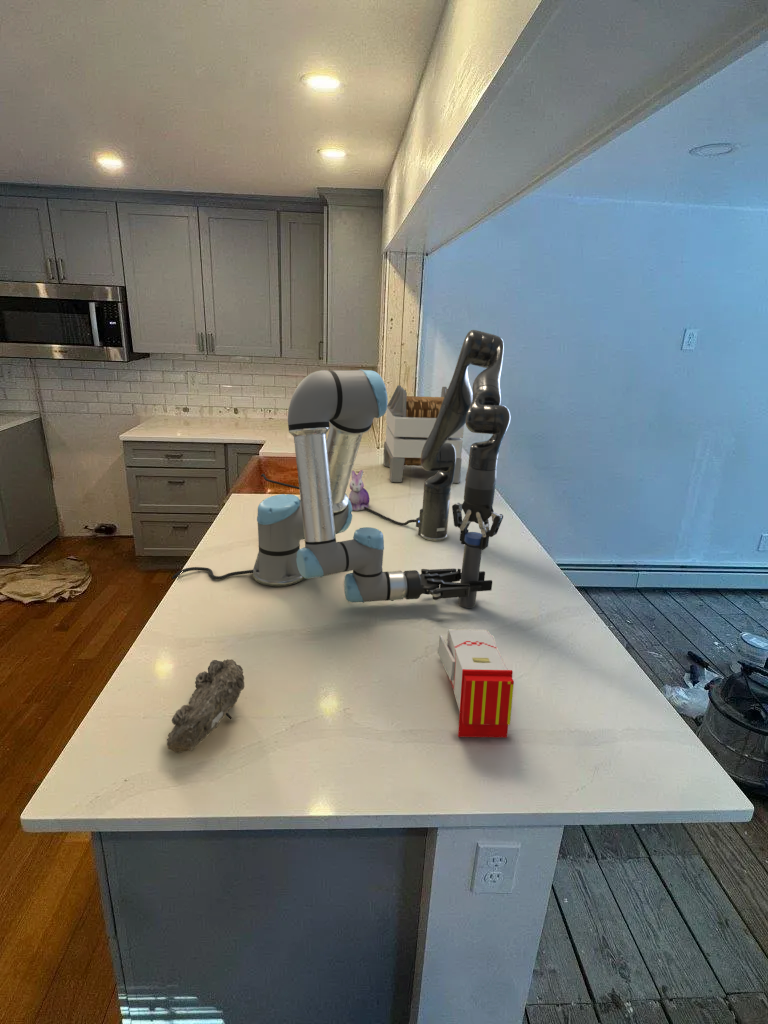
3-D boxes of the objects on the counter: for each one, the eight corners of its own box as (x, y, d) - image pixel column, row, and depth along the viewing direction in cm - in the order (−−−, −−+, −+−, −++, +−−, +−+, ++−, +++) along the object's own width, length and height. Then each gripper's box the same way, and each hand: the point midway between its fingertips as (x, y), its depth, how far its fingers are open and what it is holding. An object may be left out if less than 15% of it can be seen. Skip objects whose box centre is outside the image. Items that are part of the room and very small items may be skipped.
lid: (465, 544, 146) (465, 538, 145) (463, 537, 150) (464, 531, 150) (484, 545, 146) (485, 539, 145) (482, 538, 150) (483, 532, 150)
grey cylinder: (454, 602, 154) (461, 538, 148) (465, 598, 157) (473, 534, 151) (467, 609, 151) (475, 543, 145) (478, 604, 154) (486, 540, 148)
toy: (488, 613, 130) (523, 677, 101) (484, 667, 133) (517, 744, 104) (435, 612, 130) (455, 676, 101) (432, 666, 133) (451, 743, 103)
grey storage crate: (382, 463, 289) (386, 382, 275) (445, 464, 293) (451, 384, 279) (390, 482, 257) (394, 392, 243) (460, 483, 261) (468, 394, 247)
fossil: (192, 660, 117) (244, 628, 112) (224, 691, 120) (276, 661, 115) (142, 746, 98) (202, 712, 93) (182, 779, 101) (242, 748, 96)
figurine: (353, 512, 218) (354, 475, 213) (342, 504, 226) (343, 468, 221) (375, 509, 222) (376, 473, 217) (363, 501, 230) (364, 466, 225)
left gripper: (395, 582, 158) (475, 578, 162) (410, 614, 142) (498, 609, 146) (397, 558, 155) (477, 554, 160) (412, 588, 139) (501, 583, 144)
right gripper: (512, 487, 142) (504, 549, 147) (462, 475, 150) (456, 535, 155) (499, 493, 136) (491, 558, 142) (448, 481, 144) (442, 542, 150)
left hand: (487, 580), depth 153 cm, fingers closed on grey cylinder, 5 cm apart
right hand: (473, 545), depth 148 cm, fingers closed on lid, 5 cm apart
